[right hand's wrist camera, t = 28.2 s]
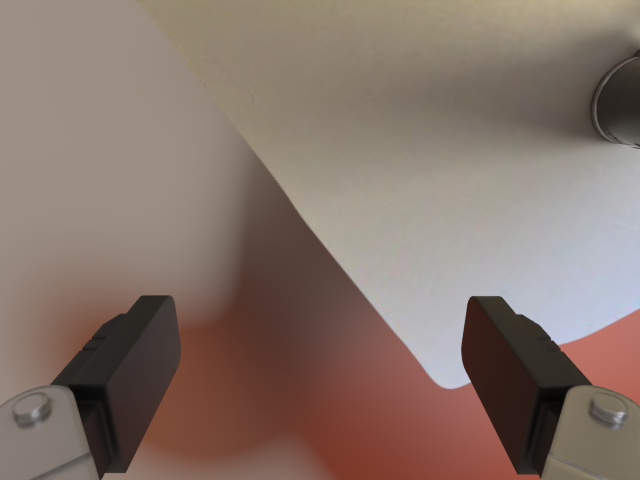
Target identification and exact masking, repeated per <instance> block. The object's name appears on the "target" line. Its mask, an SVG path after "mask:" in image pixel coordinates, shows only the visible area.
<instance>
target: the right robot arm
mask: <svg viewBox="0 0 640 480" xmlns="http://www.w3.org/2000/svg"><path fill="white" fill-rule="evenodd" d="M591 116H592V121H593V124H594V126H595V128H596V130H597V131H598V133H599V134H600V135H601V136H602V137H604V138H605V139H607V140H609V141H612V142H615V143H620V144H627V145H634V146H638V147H640V49H639V51H638V52H637V53H636V55H635V56H634V57H633V58H630V59H627V60H625V61H623V62H621V63H620V64H618V65H617V66H615V67H614V68H613V69H612V70H610V71H609V72H608V73H607V75H606V76H605V77H604V78H603V79H602V81H601V82H600V84H599V85H598V87H597V89H596V91H595V94H594V97H593V100H592V106H591ZM632 148H636V147H632ZM637 149H640V148H637ZM180 354H181V344H180V337H179V330H178V323H177V316H176V309H175V303H174V300H173V298H172V296H141V297H140V298H139V299H138V300H137V301H136V303H135V304H134V305H133V306H132V307H131V309H130V310H129V311H128V312H127V313H126V314H119V315H118V316H116V317H114V318H113V319H111V320H110V321H108V322H106V323H105V324H103V325H102V326H101V327H100V329H99V330H98V331H97V332H96V333H95V334H94V335H93V337H92V340H89V341H88V342H87V343H86V344H85V346H84V347H83V350H81V351H79V352H78V353H77V355H76V356H75V357H74V358H73V359H72V360H71V361H70V363H69V364H68V365H67V366H66V367H65V368H64V369H63V370H62V372H61V373H60V374H59V375H58V376H57V377H56V378H55V379H54V381H53V382H52V383H51V384H50V385H47V386H41V387H37V388H34V389H30V390H27V391H25V392H22V393H20V394H18V395H16V396H14V397H12V398H11V399H9V400H8V401H6V402H5V403H3V404H2V405H1V406H0V480H101V479H102V478H103V476H104V474H105V473H126V471H127V469H128V467H129V465H130V463H131V461H132V459H133V457H134V455H135V453H136V451H137V449H138V447H139V445H140V443H141V441H142V439H143V437H144V435H145V433H146V431H147V429H148V427H149V425H150V423H151V420H152V418H153V416H154V414H155V412H156V410H157V408H158V406H159V404H160V402H161V400H162V398H163V396H164V394H165V392H166V390H167V388H168V386H169V384H170V382H171V380H172V378H173V376H174V374H175V372H176V370H177V368H178V365H179V361H180ZM461 354H462V361H463V365H464V368H465V370H466V372H467V374H468V376H469V378H470V380H471V382H472V384H473V386H474V388H475V390H476V392H477V394H478V396H479V398H480V400H481V402H482V404H483V406H484V408H485V410H486V412H487V414H488V416H489V418H490V420H491V422H492V424H493V426H494V428H495V430H496V432H497V434H498V436H499V438H500V440H501V442H502V444H503V446H504V448H505V450H506V452H507V454H508V456H509V458H510V460H511V462H512V464H513V466H514V468H515V470H516V472H517V474H538V475H539V477H540V478H541V480H640V406H639V405H638V404H637V403H635V402H634V401H632V400H631V399H629V398H628V397H626V396H624V395H622V394H620V393H618V392H615V391H613V390H610V389H607V388H603V387H599V386H593V385H592V384H591V382H590V381H589V380H588V379H587V378H586V377H585V376H584V375H583V373H582V372H581V371H580V370H579V369H578V368H577V367H576V366H575V364H574V363H573V362H572V361H571V360H570V359H569V358H568V357H567V356H566V354H565V353H564V352H562V351H560V348H559V347H558V345H557V344H556V343H555V342H554V341H551V338H550V336H549V335H548V334H547V333H546V332H545V331H544V330H543V329H542V327H541V326H540V325H538V324H537V323H535V322H533V321H532V320H530V319H529V318H527V317H525V316H524V315H522V314H516V313H515V312H514V311H513V310H512V309H511V307H510V306H509V305H508V304H507V303H506V301H505V300H504V299H503V298H502V297H500V296H472V297H470V299H469V301H468V305H467V311H466V318H465V325H464V332H463V338H462V346H461Z"/></svg>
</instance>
